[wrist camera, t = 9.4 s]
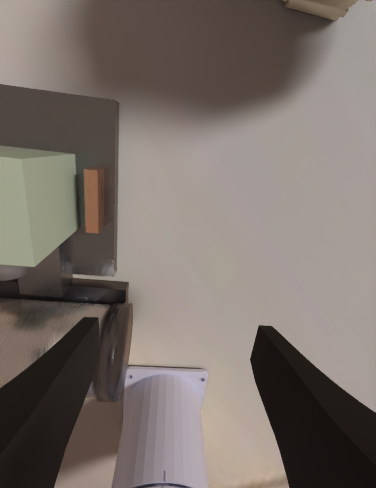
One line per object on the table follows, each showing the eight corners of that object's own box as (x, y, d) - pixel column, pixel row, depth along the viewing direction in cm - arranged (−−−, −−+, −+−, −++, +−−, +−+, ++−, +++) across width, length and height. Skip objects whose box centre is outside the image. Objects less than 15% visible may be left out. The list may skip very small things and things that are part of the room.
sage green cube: (79, 249, 18) (38, 295, 13) (7, 243, 18) (-69, 288, 12) (74, 154, 16) (21, 159, 10) (-9, 144, 15) (-113, 144, 10)
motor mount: (133, 341, 23) (115, 425, 16) (-20, 333, 22) (-111, 420, 15) (144, 106, 16) (122, 77, 9) (-81, 75, 15) (-303, 14, 8)
